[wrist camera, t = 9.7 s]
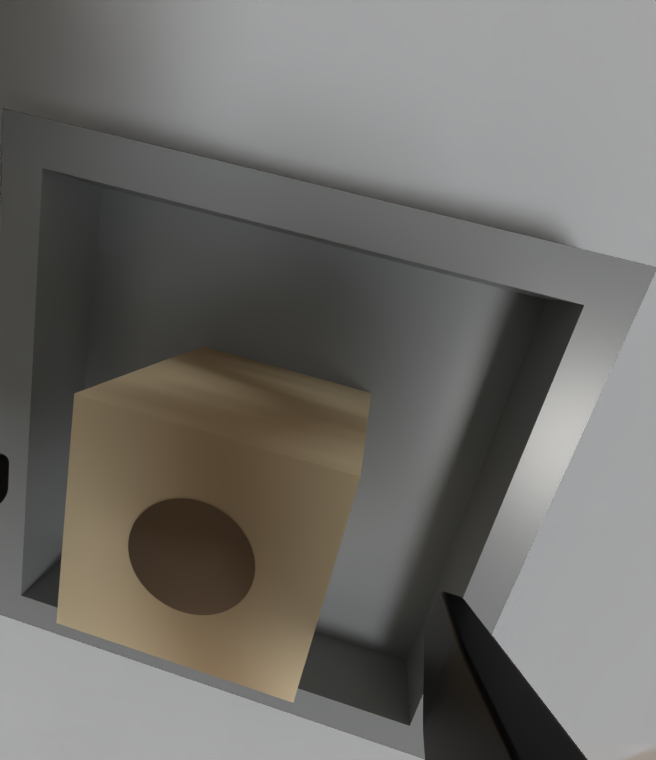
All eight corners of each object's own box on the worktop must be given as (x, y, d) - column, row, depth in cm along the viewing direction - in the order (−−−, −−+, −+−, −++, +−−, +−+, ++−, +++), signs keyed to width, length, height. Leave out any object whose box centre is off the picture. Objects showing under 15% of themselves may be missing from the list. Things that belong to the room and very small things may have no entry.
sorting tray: (53, 558, 15) (-10, 610, 13) (84, 144, 11) (3, 108, 9) (425, 679, 14) (433, 761, 12) (594, 269, 10) (657, 267, 8)
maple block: (178, 496, 13) (55, 623, 8) (202, 346, 12) (73, 393, 7) (328, 542, 13) (292, 704, 8) (371, 392, 11) (360, 477, 6)
